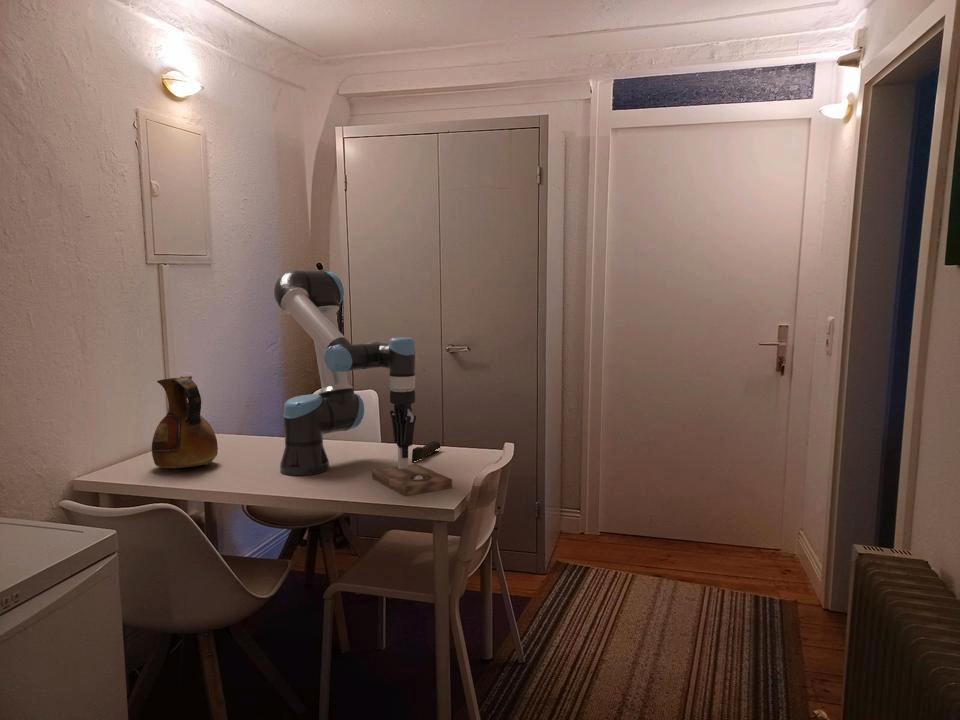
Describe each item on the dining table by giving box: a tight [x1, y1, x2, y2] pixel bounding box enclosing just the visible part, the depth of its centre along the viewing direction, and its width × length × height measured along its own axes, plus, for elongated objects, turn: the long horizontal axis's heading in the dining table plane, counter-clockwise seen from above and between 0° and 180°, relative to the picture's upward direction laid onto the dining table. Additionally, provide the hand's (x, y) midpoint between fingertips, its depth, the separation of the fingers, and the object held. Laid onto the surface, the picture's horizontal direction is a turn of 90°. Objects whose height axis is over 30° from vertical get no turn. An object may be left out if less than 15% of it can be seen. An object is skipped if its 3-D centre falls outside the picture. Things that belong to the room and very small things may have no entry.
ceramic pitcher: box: [151, 375, 219, 469], centre depth 224 cm, size 20×20×30 cm
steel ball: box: [414, 475, 423, 480], centre depth 201 cm, size 3×3×3 cm
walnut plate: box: [371, 463, 453, 497], centre depth 205 cm, size 15×22×2 cm
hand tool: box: [411, 440, 441, 463], centre depth 238 cm, size 19×4×5 cm, turn 158°
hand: (403, 467), depth 208 cm, fingers closed
